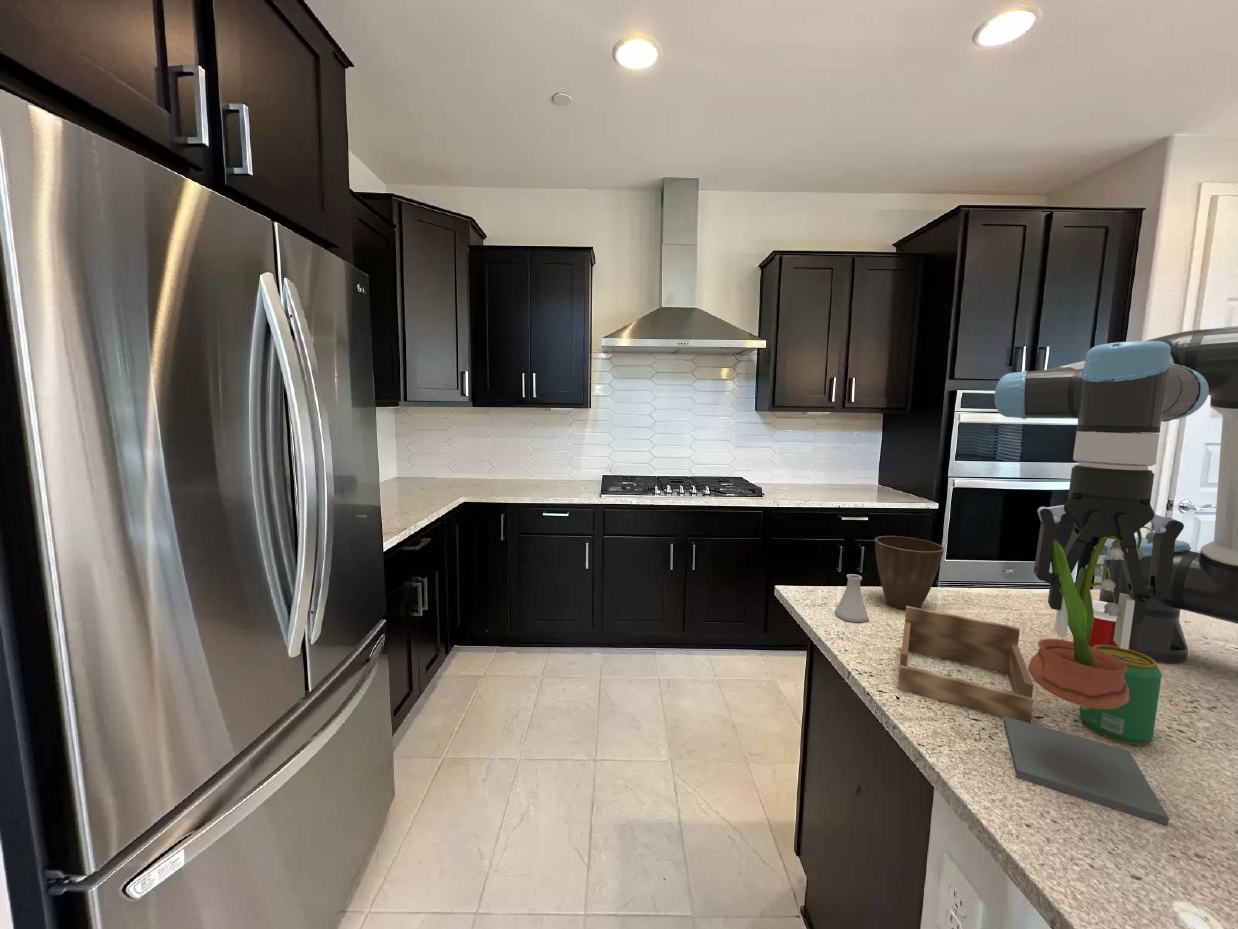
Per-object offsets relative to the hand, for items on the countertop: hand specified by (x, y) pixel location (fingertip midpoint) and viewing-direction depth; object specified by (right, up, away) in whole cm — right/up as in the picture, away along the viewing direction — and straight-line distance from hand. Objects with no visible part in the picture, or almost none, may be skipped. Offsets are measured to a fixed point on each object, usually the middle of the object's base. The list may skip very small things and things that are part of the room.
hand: (1089, 638), depth 65 cm
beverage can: (+14, -18, +10) cm, 25 cm away
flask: (-8, -13, +51) cm, 53 cm away
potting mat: (0, -18, +2) cm, 18 cm away
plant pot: (+9, -13, +59) cm, 61 cm away
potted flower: (0, -8, +1) cm, 8 cm away
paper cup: (+24, -16, +25) cm, 38 cm away
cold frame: (-1, -16, +23) cm, 28 cm away
